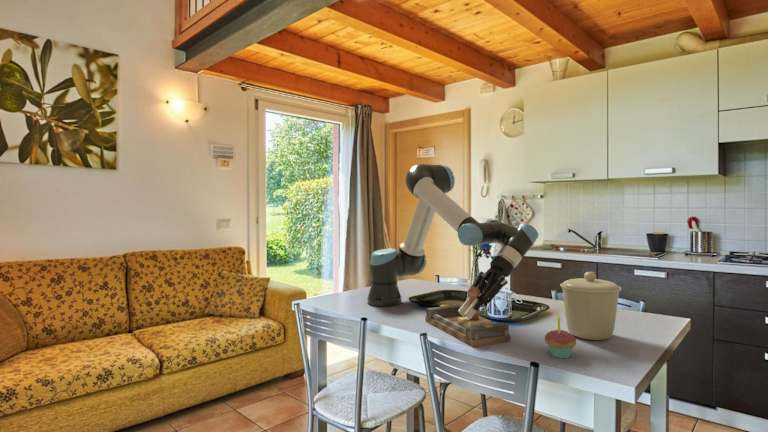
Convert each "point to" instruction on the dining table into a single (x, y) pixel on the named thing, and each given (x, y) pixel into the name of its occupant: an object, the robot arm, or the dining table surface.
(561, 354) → the cupcake
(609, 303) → the canister
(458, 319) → the carriage
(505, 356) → the dining table surface
